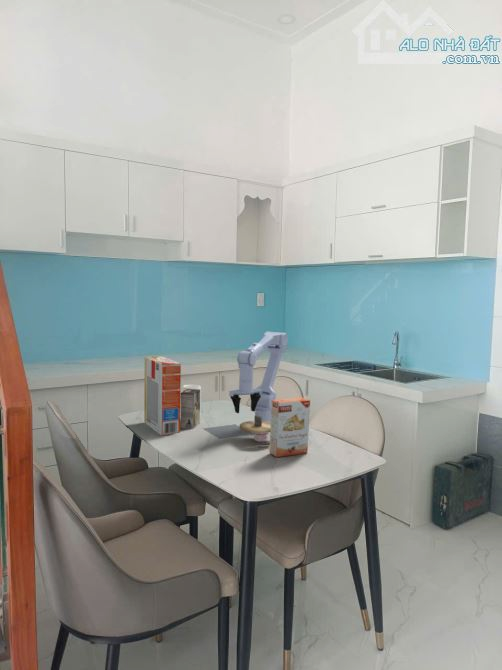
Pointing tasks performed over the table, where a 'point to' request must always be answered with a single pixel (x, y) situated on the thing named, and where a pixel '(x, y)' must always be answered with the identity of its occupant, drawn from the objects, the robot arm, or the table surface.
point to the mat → (227, 431)
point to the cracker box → (289, 426)
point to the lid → (256, 425)
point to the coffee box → (190, 408)
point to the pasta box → (162, 395)
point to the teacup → (261, 438)
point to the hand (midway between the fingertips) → (245, 411)
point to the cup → (196, 387)
